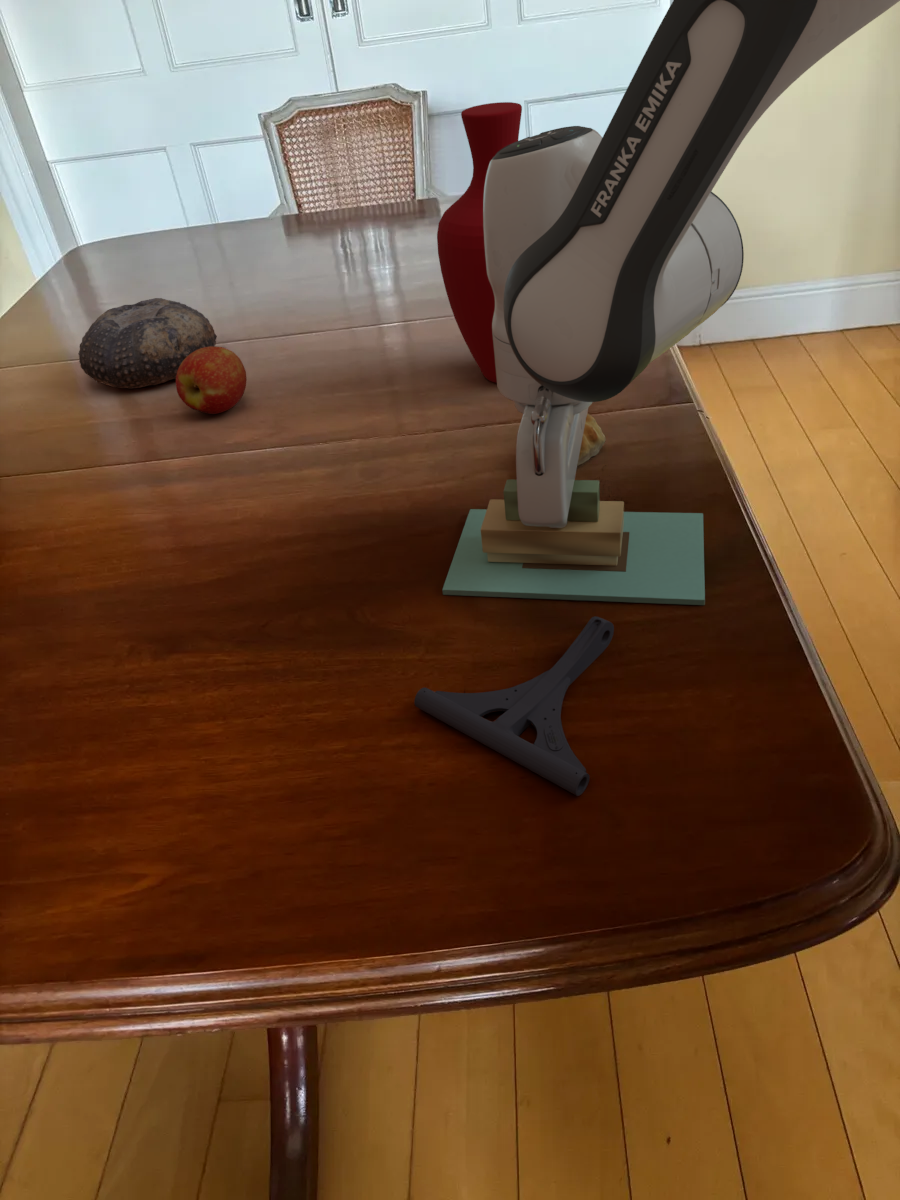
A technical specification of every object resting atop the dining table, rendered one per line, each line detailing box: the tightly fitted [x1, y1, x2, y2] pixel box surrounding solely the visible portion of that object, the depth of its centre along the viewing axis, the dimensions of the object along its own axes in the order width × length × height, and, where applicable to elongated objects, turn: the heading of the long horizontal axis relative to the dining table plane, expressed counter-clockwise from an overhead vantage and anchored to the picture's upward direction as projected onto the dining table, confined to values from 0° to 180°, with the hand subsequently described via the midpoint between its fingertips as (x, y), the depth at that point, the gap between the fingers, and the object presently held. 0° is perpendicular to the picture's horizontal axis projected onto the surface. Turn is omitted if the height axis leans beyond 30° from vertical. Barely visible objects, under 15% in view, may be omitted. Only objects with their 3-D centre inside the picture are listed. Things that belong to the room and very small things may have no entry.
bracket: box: [413, 616, 615, 797], centre depth 66 cm, size 14×15×3 cm
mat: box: [441, 508, 706, 606], centre depth 80 cm, size 22×13×1 cm, turn 78°
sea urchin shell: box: [78, 297, 218, 390], centre depth 125 cm, size 19×19×10 cm
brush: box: [481, 478, 625, 566], centre depth 78 cm, size 12×5×7 cm, turn 78°
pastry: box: [577, 413, 607, 467], centre depth 93 cm, size 9×7×4 cm
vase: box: [436, 101, 523, 384], centre depth 104 cm, size 15×15×30 cm
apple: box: [175, 346, 248, 415], centre depth 112 cm, size 8×8×8 cm
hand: (559, 512), depth 78 cm, fingers closed on brush
